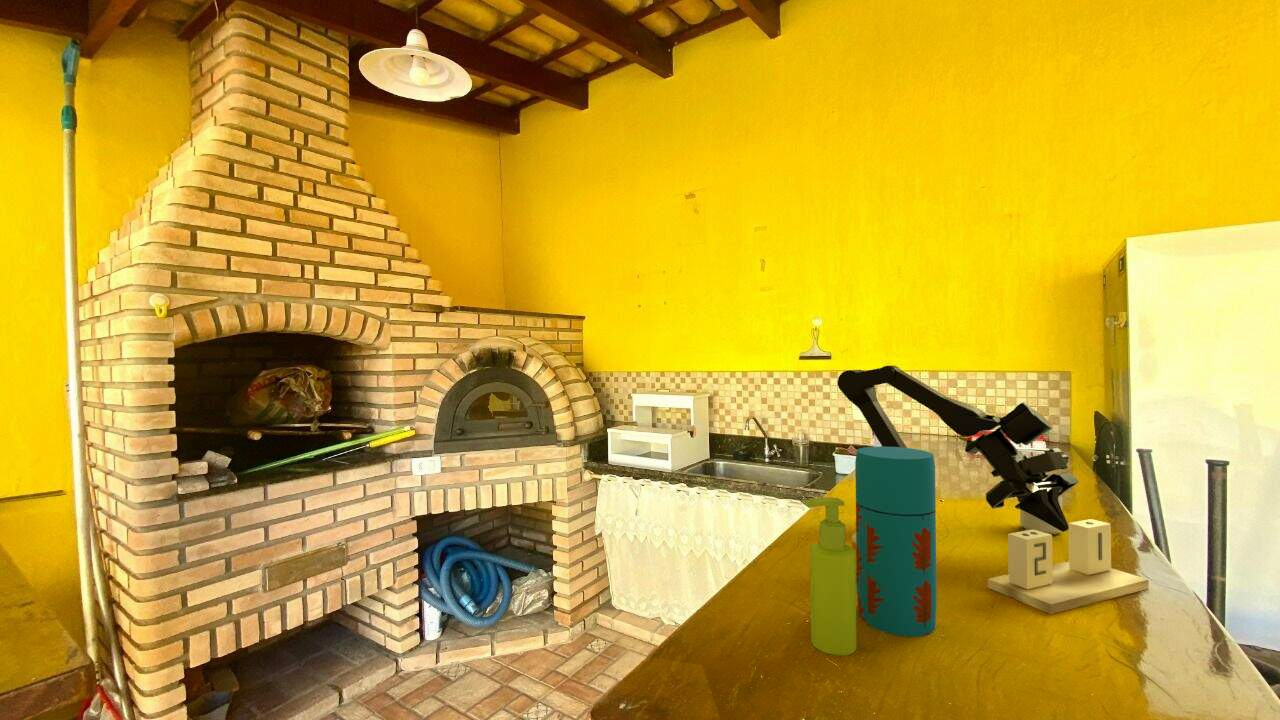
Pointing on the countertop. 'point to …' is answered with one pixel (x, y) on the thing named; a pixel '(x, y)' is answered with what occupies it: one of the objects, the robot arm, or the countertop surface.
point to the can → (1038, 521)
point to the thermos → (896, 539)
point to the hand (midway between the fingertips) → (1066, 530)
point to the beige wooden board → (1071, 588)
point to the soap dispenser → (832, 583)
